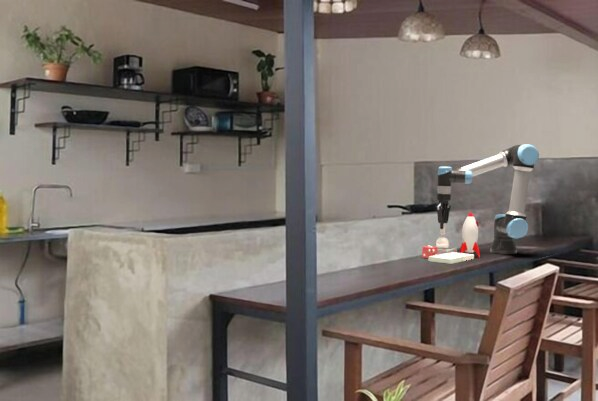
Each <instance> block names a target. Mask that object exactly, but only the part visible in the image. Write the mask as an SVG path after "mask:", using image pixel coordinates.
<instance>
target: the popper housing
mask: <svg viewBox="0 0 598 401" xmlns="http://www.w3.org/2000/svg"><path fill="white" fill-rule="evenodd" d="M451 252H456V253H458V249H457V248H455V247H449V249H446V250H443V249H437V255H440V254H445V253H451Z"/></svg>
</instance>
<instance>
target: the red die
mask: <svg viewBox="0 0 598 401" xmlns="http://www.w3.org/2000/svg"><path fill="white" fill-rule="evenodd" d="M421 253H422V254H421V257H422V259H424V258H425V259H429V256H434V255H437V247H436V246H432V245H426V246H422V251H421Z"/></svg>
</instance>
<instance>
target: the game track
mask: <svg viewBox="0 0 598 401" xmlns="http://www.w3.org/2000/svg"><path fill="white" fill-rule="evenodd" d="M471 259H472V260H474V259H475V254H474V253H473V254H466V252H463V253H460V252H457V253H456V252H451V253H445V254H440V255H434V256H429V258H428V262H431V263H440V264H448V265H452V264H457V263H458V264H459V263H461V262H465V261H466V260H467V261H471ZM467 261H466V262H467Z"/></svg>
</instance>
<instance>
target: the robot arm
mask: <svg viewBox="0 0 598 401" xmlns="http://www.w3.org/2000/svg"><path fill="white" fill-rule="evenodd" d="M539 157H540V154H539V150H538V149H537V147H536V146H534V145H532V144H526V143H524V144H516V145H513V146H511V147H509V148H506V149H504V150H500V152H498V153H497V154H495V155H491V156H489V157H487V158H483V159H481V160H479V161H476V162H473V163H470V164H467V165H464V166H462V167H458V168H456V169H453V167H452V166H438V168H437V169H438V170H437V190H436V191H437V194H436V199H437V201H439V202H438V205H435V207H436V208H435V209H436V213H437V223H438V224H439V235H442V236H444V235H446V226H447V225H446V224H448V223H449V218H450V211H451V208H452V207H451V205H450V203H449V201H451V198H452V195H451V193H452V184H462V185H463V184H465V185H466V184H467V185H468V184H471V183H472V182H473V178H474V177H476V176H478V175H482V174H484V173H486V172H490V171H493V170H495V169H499V168H502V167H503V168H506V167H509V166H512V168H513V170H514V173H513V181H512V187H511V194H510V202H509V207H508V211H507V212H506V213H504V214H502V213H500V214H496V215H494V222H493V223H494V224H493V225H494V226H493V240H492V243H491V246H490V249H489V250H490V251H489V252H490V253H493V254H501V255H516V254H517V253H518V250H517V246H516V242H515V239H520V238H523V237H524V236H526V234H527V233H528V230H529V224H528V223H527V214H526V213H525V212H526V211H525V210H526V203H527V197H528V192H529V191H528V190H529V184H530V176H531V172H532V171H533V170H534V168H535V164H536V163H537V162H538V161H539Z"/></svg>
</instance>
